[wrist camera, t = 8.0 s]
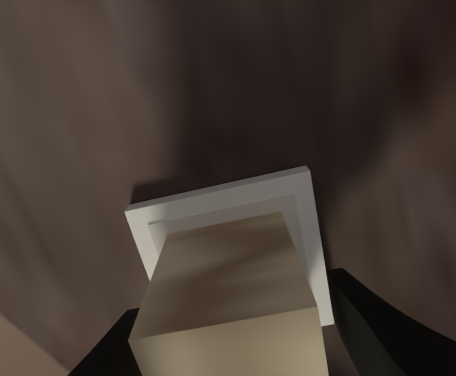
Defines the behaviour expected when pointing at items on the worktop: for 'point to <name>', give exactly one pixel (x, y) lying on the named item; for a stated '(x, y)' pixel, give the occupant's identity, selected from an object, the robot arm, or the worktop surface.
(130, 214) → the tray
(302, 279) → the maple block
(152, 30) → the worktop surface
